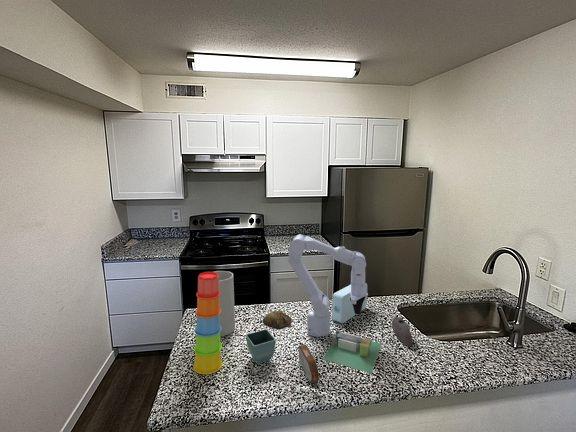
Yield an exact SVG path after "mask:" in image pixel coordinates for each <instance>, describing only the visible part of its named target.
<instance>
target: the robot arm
mask: <svg viewBox="0 0 576 432" xmlns="http://www.w3.org/2000/svg"><path fill="white" fill-rule="evenodd" d="M313 250H315V251H318V252H320V253H324V254H326V255H330V256H332V257H333V259H334V260H335V261H338V262H340V263H343V264H344V265H348V266H351V272H350V285H351V292H350V294H351V297H350V301H351V304H352V305H353V308H354V312H355V314H356V315H361V313H362V311H361V309H362V305H363V302H364V300H365V298H366V297H367V298H368V296H369V293H368V292H367V293H365V283H366V268H367V262H366V256H365V255H364V254H363V253H361V252H360V251H356V250H353V251H352V250H349V249H347V248H346V246H343V245H342V246H337V247H334V246H331V245H329V244H326V243H324V242H321V241H320V240H317V239H315V238H313V237H311V236H309V235H304V234H299V233H298V234H297V235H295V236H294V237H293V239H292V240H291V242H290V244H289V245H288V263H289V265H290V266H291V268H292V270H293V272H294V274H295V275H296V276H297V278H298V280H299V282H300V284H301V286H303V288H304V290H305V292H306V293H307V295H308V297H309V300H310V304H311V305H312V309H313V310H311V311H309V312H308V315H307V321H306V322H307V323H306V335H308V336H312V337H314V338H315V337H316V338H319V337H325V336H326V337H327V336H329V335H330V333H331V312H330V310H329V308H330V305H331V301H330V298H329V297H328V296H327V295H325V294H324V292H323V291H322V290H321V289H319V286H318V285H317V283H316V282H315V280H314V279H313V276H312V275H311V273H310V272H309V270H308V268H307V267H306V265H305V263H304V261H303V260H302V257H303V253H304V252H305V251H306V252H310V251H313ZM365 296H366V297H365Z"/></svg>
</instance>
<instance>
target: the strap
mask: <svg viewBox="0 0 576 432" xmlns="http://www.w3.org/2000/svg"><path fill="white" fill-rule="evenodd" d="M333 336H336V338H338V339H343V340H347V341H351V342H356V343H360V344H361V342H362V340H363V338H362V337H360V338H357V337H353V336H348V335H344V334H342V333H340V334H339V332H336V331H335V332H334V334H333ZM372 341H373V339H371V342H370V345H371V343H372Z"/></svg>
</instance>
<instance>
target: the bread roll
mask: <svg viewBox="0 0 576 432" xmlns="http://www.w3.org/2000/svg"><path fill="white" fill-rule="evenodd" d="M262 323H263V324H265V325H267V326H268V327H271V328H275V329H282V328H284V327H289V326H291V325H292V317H290V316H289V315H288V314H286V313H284V312H283V311H282V310H274V311H270V312H268V313H266V314H265V316H264V317H263V318H262Z"/></svg>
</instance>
